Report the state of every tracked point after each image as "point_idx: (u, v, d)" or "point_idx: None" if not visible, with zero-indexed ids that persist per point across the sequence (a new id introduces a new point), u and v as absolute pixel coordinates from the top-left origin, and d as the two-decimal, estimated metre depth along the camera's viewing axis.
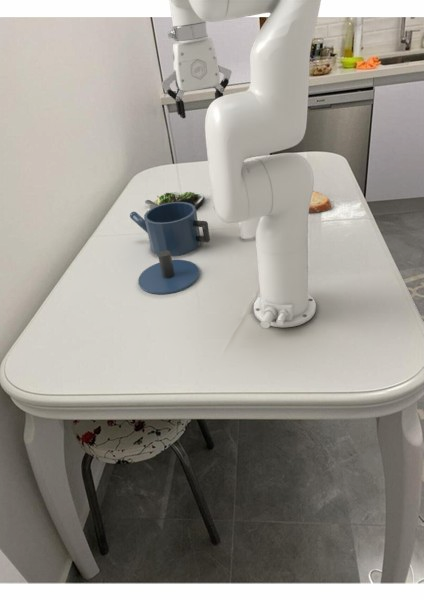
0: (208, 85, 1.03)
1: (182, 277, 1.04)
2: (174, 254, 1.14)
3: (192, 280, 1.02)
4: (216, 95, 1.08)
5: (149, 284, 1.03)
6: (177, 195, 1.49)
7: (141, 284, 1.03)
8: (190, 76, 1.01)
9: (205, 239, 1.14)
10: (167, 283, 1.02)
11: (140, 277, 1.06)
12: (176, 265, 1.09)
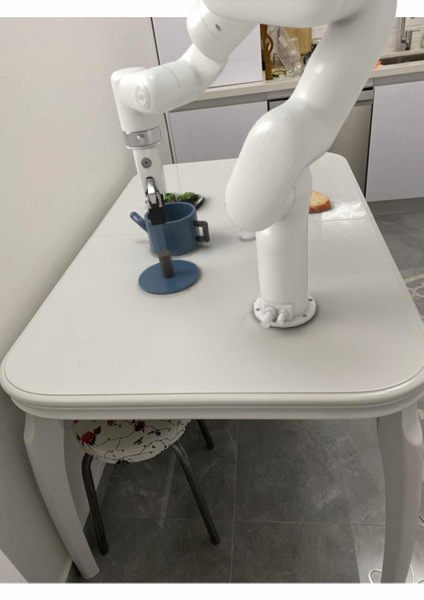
0: (165, 182, 0.96)
1: (182, 277, 1.04)
2: (174, 254, 1.14)
3: (192, 280, 1.02)
4: None
5: (149, 284, 1.03)
6: (177, 195, 1.49)
7: (141, 284, 1.03)
8: None
9: (205, 239, 1.14)
10: (167, 283, 1.02)
11: (140, 277, 1.06)
12: (176, 265, 1.09)
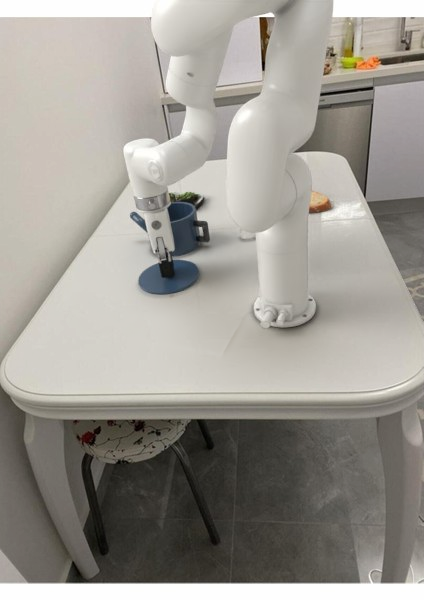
0: (173, 238, 1.02)
1: (182, 277, 1.04)
2: (174, 254, 1.14)
3: (192, 280, 1.02)
4: None
5: (149, 284, 1.03)
6: (177, 195, 1.49)
7: (141, 284, 1.03)
8: (172, 235, 0.97)
9: (205, 239, 1.14)
10: (167, 283, 1.02)
11: (140, 277, 1.06)
12: (176, 265, 1.09)
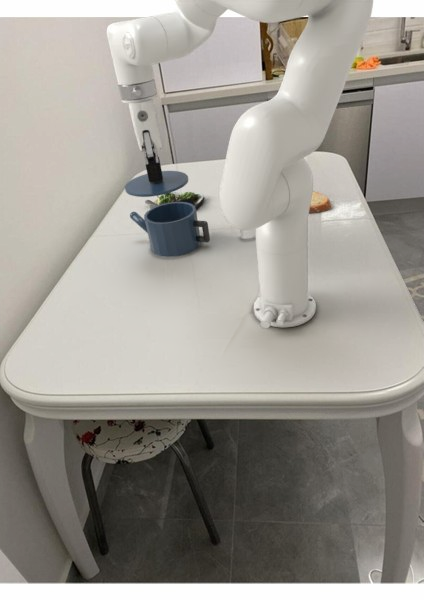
0: None
1: (170, 182, 0.99)
2: (174, 254, 1.14)
3: (181, 184, 0.98)
4: None
5: (136, 189, 0.98)
6: (177, 195, 1.49)
7: (127, 189, 0.99)
8: (159, 132, 0.93)
9: (205, 239, 1.14)
10: (155, 187, 0.98)
11: (127, 185, 1.02)
12: (164, 174, 1.04)
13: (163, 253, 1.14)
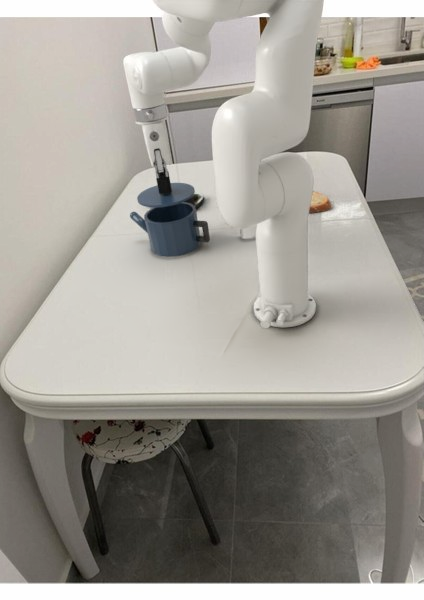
0: None
1: (178, 194, 1.10)
2: (174, 254, 1.14)
3: (188, 196, 1.08)
4: None
5: (147, 200, 1.09)
6: None
7: (140, 200, 1.09)
8: (169, 150, 1.03)
9: (205, 239, 1.14)
10: (164, 199, 1.08)
11: (139, 196, 1.12)
12: (173, 186, 1.15)
13: (163, 253, 1.14)
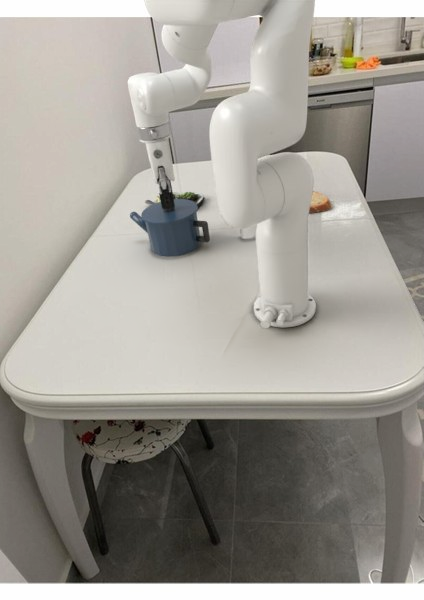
0: None
1: (182, 211, 1.12)
2: (174, 254, 1.14)
3: (191, 213, 1.11)
4: None
5: (151, 217, 1.12)
6: (177, 195, 1.49)
7: (144, 217, 1.12)
8: (172, 166, 1.06)
9: (205, 239, 1.14)
10: (168, 216, 1.11)
11: (143, 212, 1.15)
12: (176, 203, 1.17)
13: (163, 253, 1.14)
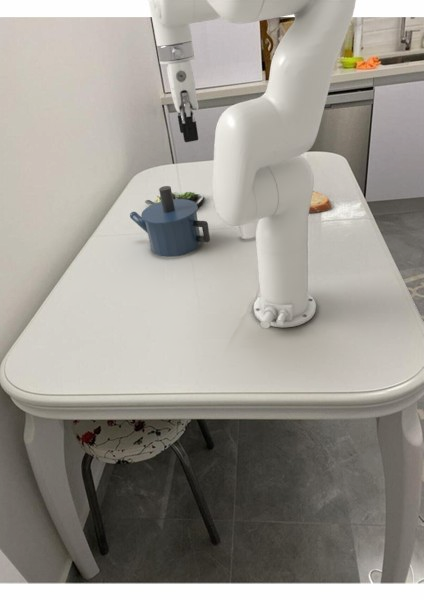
0: None
1: (182, 211, 1.12)
2: (174, 254, 1.14)
3: (191, 213, 1.11)
4: None
5: (151, 217, 1.12)
6: (177, 195, 1.49)
7: (144, 217, 1.12)
8: None
9: (205, 239, 1.14)
10: (168, 216, 1.11)
11: (143, 212, 1.15)
12: (176, 203, 1.17)
13: (163, 253, 1.14)
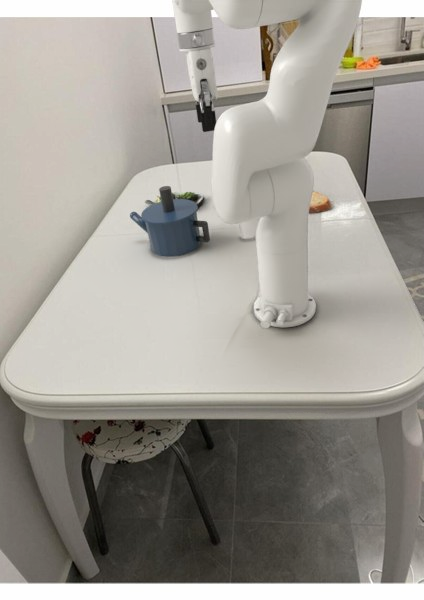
0: None
1: (182, 211, 1.12)
2: (174, 254, 1.14)
3: (191, 213, 1.11)
4: None
5: (151, 217, 1.12)
6: (177, 195, 1.49)
7: (144, 217, 1.12)
8: None
9: (205, 239, 1.14)
10: (168, 216, 1.11)
11: (143, 212, 1.15)
12: (176, 203, 1.17)
13: (163, 253, 1.14)
